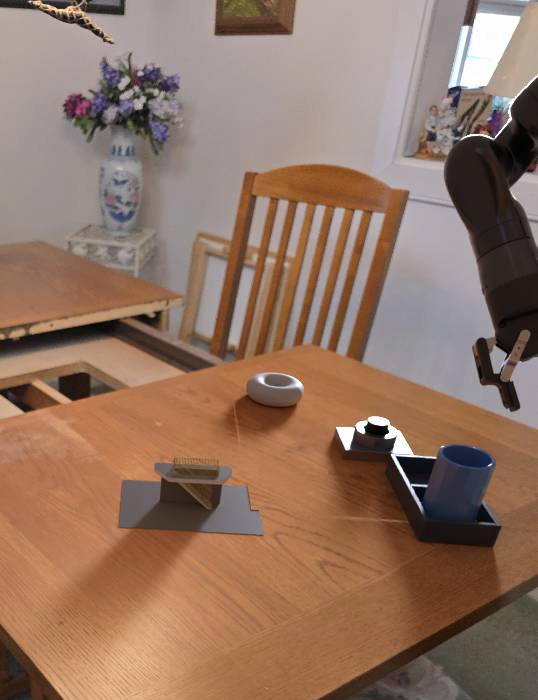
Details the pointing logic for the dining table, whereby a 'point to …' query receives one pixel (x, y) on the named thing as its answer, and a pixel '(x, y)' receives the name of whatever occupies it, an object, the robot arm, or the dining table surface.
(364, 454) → the control block
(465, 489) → the cup
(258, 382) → the donut
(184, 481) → the platform
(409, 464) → the black divided tray
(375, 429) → the button
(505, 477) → the dining table surface
